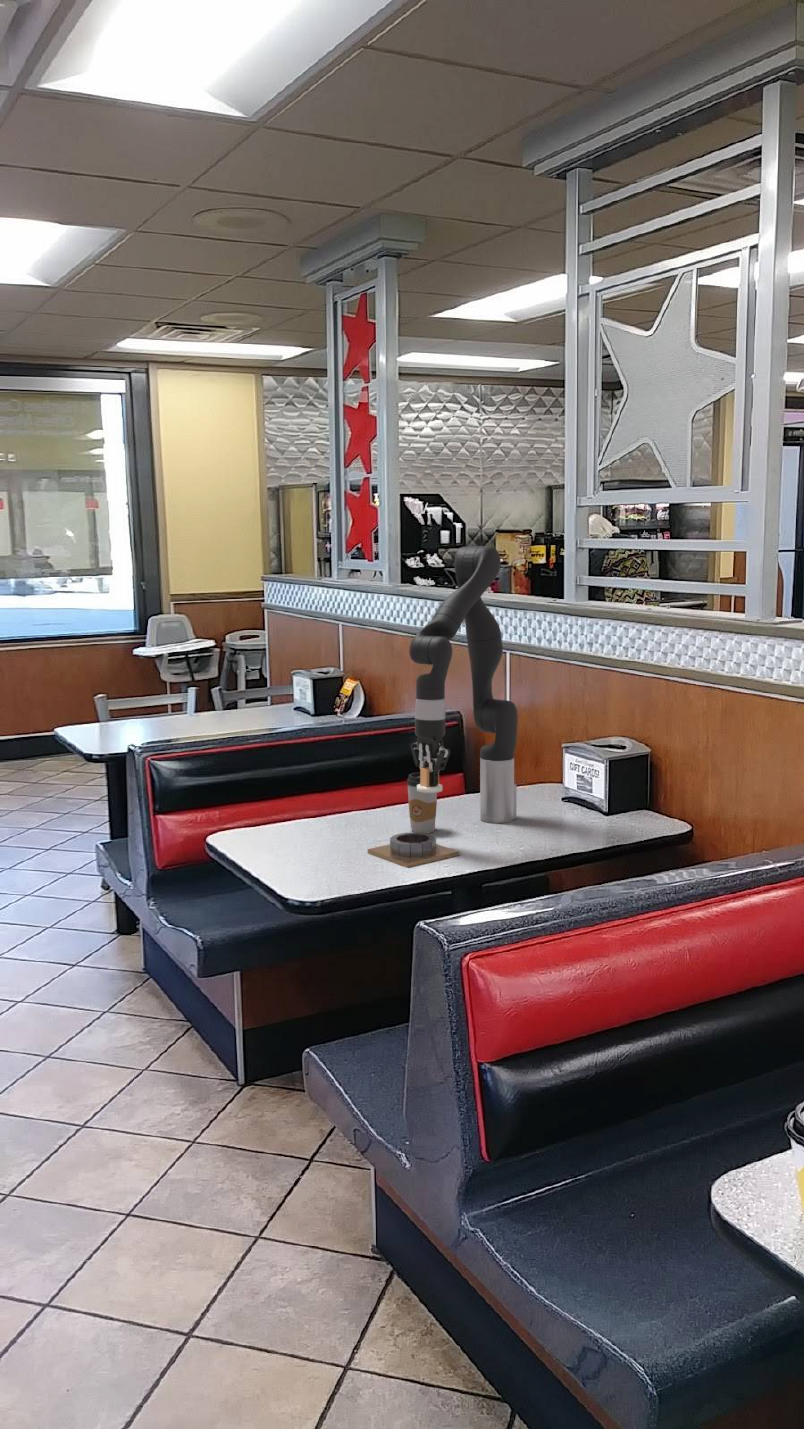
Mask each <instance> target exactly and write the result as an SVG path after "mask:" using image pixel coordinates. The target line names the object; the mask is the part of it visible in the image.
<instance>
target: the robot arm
mask: <svg viewBox="0 0 804 1429" xmlns="http://www.w3.org/2000/svg"><path fill="white" fill-rule="evenodd" d="M453 561H454V573H455V579H456V583H457V587H458V589H456V590H455V591H453V592H452V593H451V594H449V595H448V596H447V597H446V598H445V599H444V600H443V601H442V602H441V604H440V605H439V606H438V608H437V609H436V612H435V613H434V615H433V617H432V619H431V620H430V621H429V622H428V623H426V625H424V626H423V627H422V628H421V629H420V630H419V631H418V632H417V633H416V635H414V637H413V638H412V640H411V642H410V645H409V650H408V652H409V653H408V654H409V656H410V659H411V661H413V663H416V664H418V665H430V666H432V667H431V670H430V672H429V673H423V674H420V675H418V676H417V678H416V682H415V683H416V684H415V685H416V687H415V689H416V691H415V694H416V696H415V697H416V699H415V705H414V735H415V736H416V737H417V739H416V742H414V743H410V744H409V747H410V750H411V754H412V757H413V761H414V764H415V766H416V767H419V769H420V768H427V767H429V770H430V772H429V786H430V787H436V786H437V785H438V772H439V773H440V771H444V770H445V769H446V766H447V763H448V761H449V758H450V755H451V749H449V748H445V747H444V742H443V738H444V736H445V735H446V701H445V698H446V696H445V688H446V684H445V683H446V679H447V675H448V672H449V667H450V663H451V660H452V657H453V646H452V643H451V641H450V640H452V639H453V638H454V637H456V634H457V633H458V632H459V629H460V628H461V626H462V623H463V622H464V626H465V635H466V644H467V651H468V656H469V665H470V672H471V683H472V686H471V687H472V709H473V710H472V712H473V713H472V714H473V720H474V724H475V726H476V728H477V729H478V730H479V731H481V732H483V733H492V734H495V735H494V741H493V742H492V743H491V744H487V745H486V744H485V745H483V746H482V747H481V748H480V752H479V753H480V754H479V756H480V757H479V763H480V764H479V770H480V771H479V774H480V775H479V780H480V783H479V784H480V785H479V788H480V789H479V791H480V792H479V793H480V796H479V798H480V800H479V801H480V803H479V808H480V810H479V813H480V814H479V816H480V820H481V821H483V822H486V823H492V824H493V823H495V824H498V823H499V824H501V823H502V824H503V823H509V822H512V821H513V820H514V819H517V799H518V798H517V795H518V794H517V792H518V789H517V784H516V783H515V751H516V747H517V741H518V740H517V739H518V738H517V737H518V721H519V720H518V716H519V714H518V709H517V706H516V704H515V703H514V702H512V701H511V700H505V699H496V698H495V699H494V696H493V686H492V683H493V678H494V675H495V672H496V671H497V668H498V666H499V663H500V662H501V659H502V656H503V652H504V651H503V650H504V648H503V639H502V631H501V626H500V624H499V623H498V621H497V620H496V618H495V616H494V615H493V613H492V612H491V611H490V610H489V608H488V607H487V606H486V604H485V603H484V601H483V599H482V596H483V594H484V593H485V592H486V591H487V590H488V588H489V587H490V586H491V585H492V584H493V583H494V581H495V580H496V579H497V577H498V575H499V573H500V570H501V565H502V564H501V563H502V562H501V561H502V559H501V555H500V552H499V550H497V548H495V547H494V546H491V545H489V546H488V545H476V546H475V545H474V546H462V547H461V546H460V547H459V548H458V549H457V550H456V552H455V555H454V560H453Z"/></svg>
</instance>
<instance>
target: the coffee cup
mask: <svg viewBox="0 0 804 1429" xmlns="http://www.w3.org/2000/svg"><path fill="white" fill-rule="evenodd" d="M406 781H407V782H406V784H407V785H406V786H407V795H408V796H407V797H408V800H407V801H408V812H409V821H410V822H409V823H410V829H411V831H412V833H413V832H415V833H416V832H417V833H426V834H429V833H433V832H434V830H435V827H436V817H437V805H438V803H437V802H438V799H437V797H438V792H437V793H423V792H418V791H417V785H418V784H420V771H419V772H412V773H409V774H408V778H407V779H406Z"/></svg>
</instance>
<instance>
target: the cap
mask: <svg viewBox="0 0 804 1429" xmlns="http://www.w3.org/2000/svg"><path fill="white" fill-rule="evenodd" d="M419 770H420V771H419V772H420V784H418V785H417V791H418V792H423V793H437V794H438V793H441V792H442V791H443V784H441V783H440V771H439V772H438V785H437V786H436V787H430V786H429V772H430V770H429V767H427V768H420V767H419Z"/></svg>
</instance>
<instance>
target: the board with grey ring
mask: <svg viewBox="0 0 804 1429" xmlns="http://www.w3.org/2000/svg"><path fill="white" fill-rule="evenodd" d="M389 841H390V842H389V844H386V845H385V844H383V845H380V846H376V847H375V846H374V847H371V848H367V854H369V855H373V856H374V857H378V858H381V859H383V860H386V861H388V862H391V863H394V864H396V865H399V866H403V867H404V868H411V867H416V866H419V865H424V864H429V863H433V862H437V861H441V860H442V861H443V860H445V859H450V858H453V857H457V856H458V857H459V856H460V850H457V849H453V848H449V847H447V846H443V845H441V844H438V843H437V838H436V836H435V835H433V834H429V833H417V832H416V833H415V832H413V831H412V832H402V833H397V834H394V835H392V836H391V837H389Z"/></svg>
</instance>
